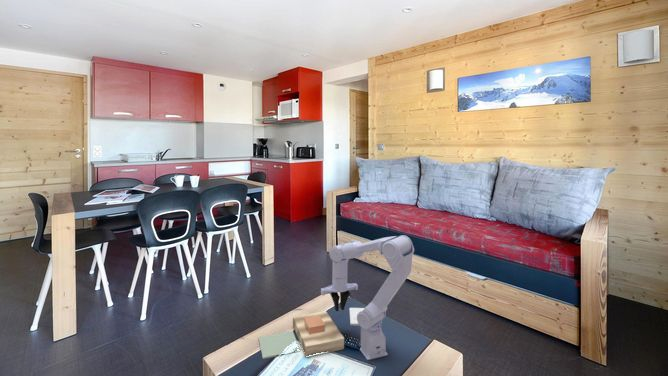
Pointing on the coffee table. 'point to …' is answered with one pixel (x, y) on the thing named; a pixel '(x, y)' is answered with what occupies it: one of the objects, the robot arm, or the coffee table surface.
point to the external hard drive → (354, 315)
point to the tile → (314, 324)
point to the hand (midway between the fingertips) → (339, 309)
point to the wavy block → (318, 335)
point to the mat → (276, 344)
